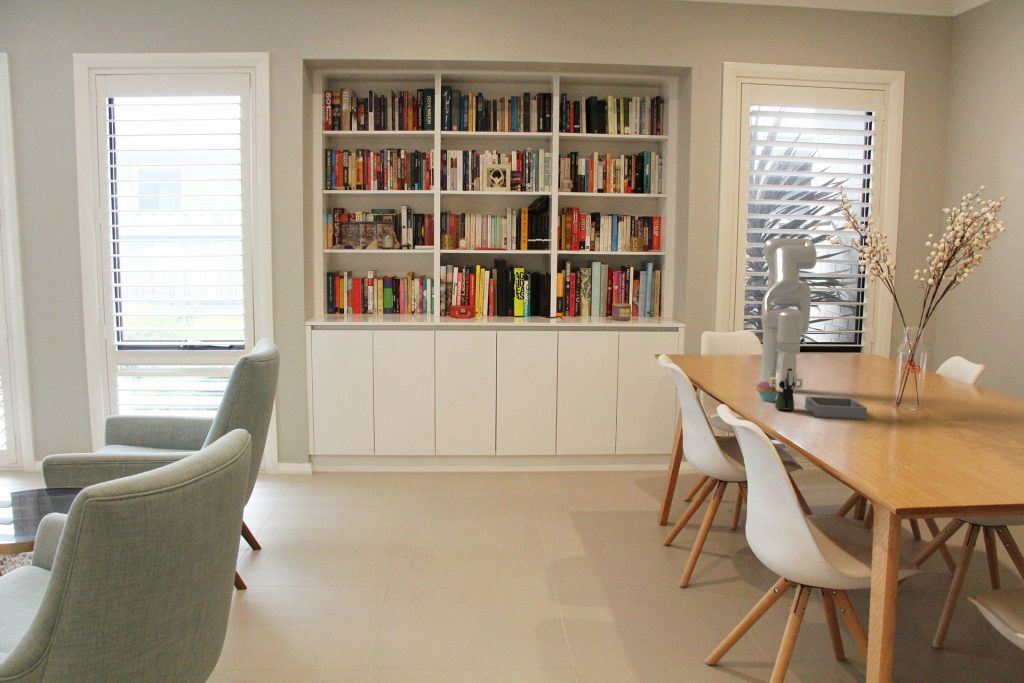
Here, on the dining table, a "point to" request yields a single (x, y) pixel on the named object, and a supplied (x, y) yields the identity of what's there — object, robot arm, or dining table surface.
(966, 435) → the dining table surface
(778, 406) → the character mug
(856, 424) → the dining table surface
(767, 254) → the robot arm
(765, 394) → the cupcake
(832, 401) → the grey tray
